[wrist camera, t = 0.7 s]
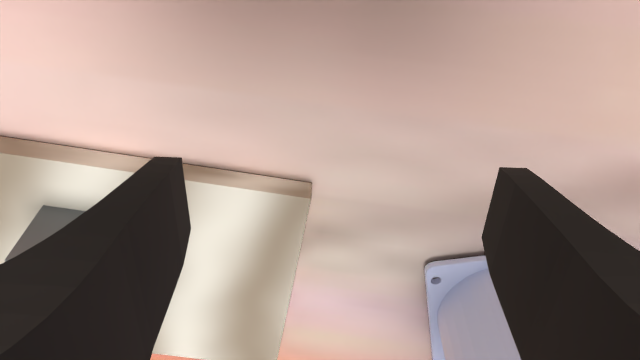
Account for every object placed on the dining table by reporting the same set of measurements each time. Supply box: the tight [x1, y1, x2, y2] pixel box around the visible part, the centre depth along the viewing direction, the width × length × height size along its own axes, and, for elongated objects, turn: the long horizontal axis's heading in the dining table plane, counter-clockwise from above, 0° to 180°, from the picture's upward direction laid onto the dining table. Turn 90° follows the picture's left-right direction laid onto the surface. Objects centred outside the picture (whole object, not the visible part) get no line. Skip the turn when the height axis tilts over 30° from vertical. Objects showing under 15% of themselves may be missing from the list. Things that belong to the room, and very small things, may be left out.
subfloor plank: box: [0, 136, 312, 360], centre depth 26 cm, size 24×12×1 cm, turn 80°
